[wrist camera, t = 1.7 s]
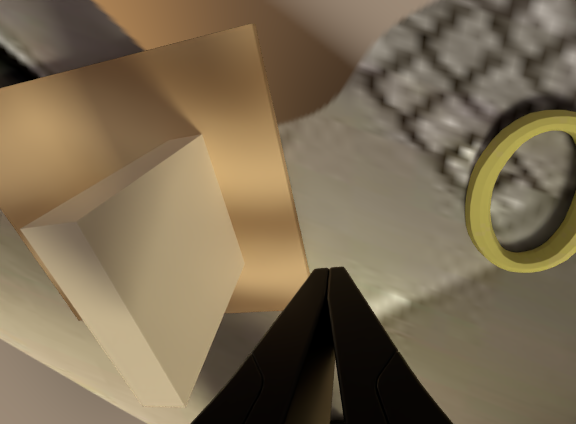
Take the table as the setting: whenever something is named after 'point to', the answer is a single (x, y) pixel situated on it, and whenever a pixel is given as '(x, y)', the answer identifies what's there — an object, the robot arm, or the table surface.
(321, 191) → the table surface
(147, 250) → the tile
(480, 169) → the key
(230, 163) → the mat
